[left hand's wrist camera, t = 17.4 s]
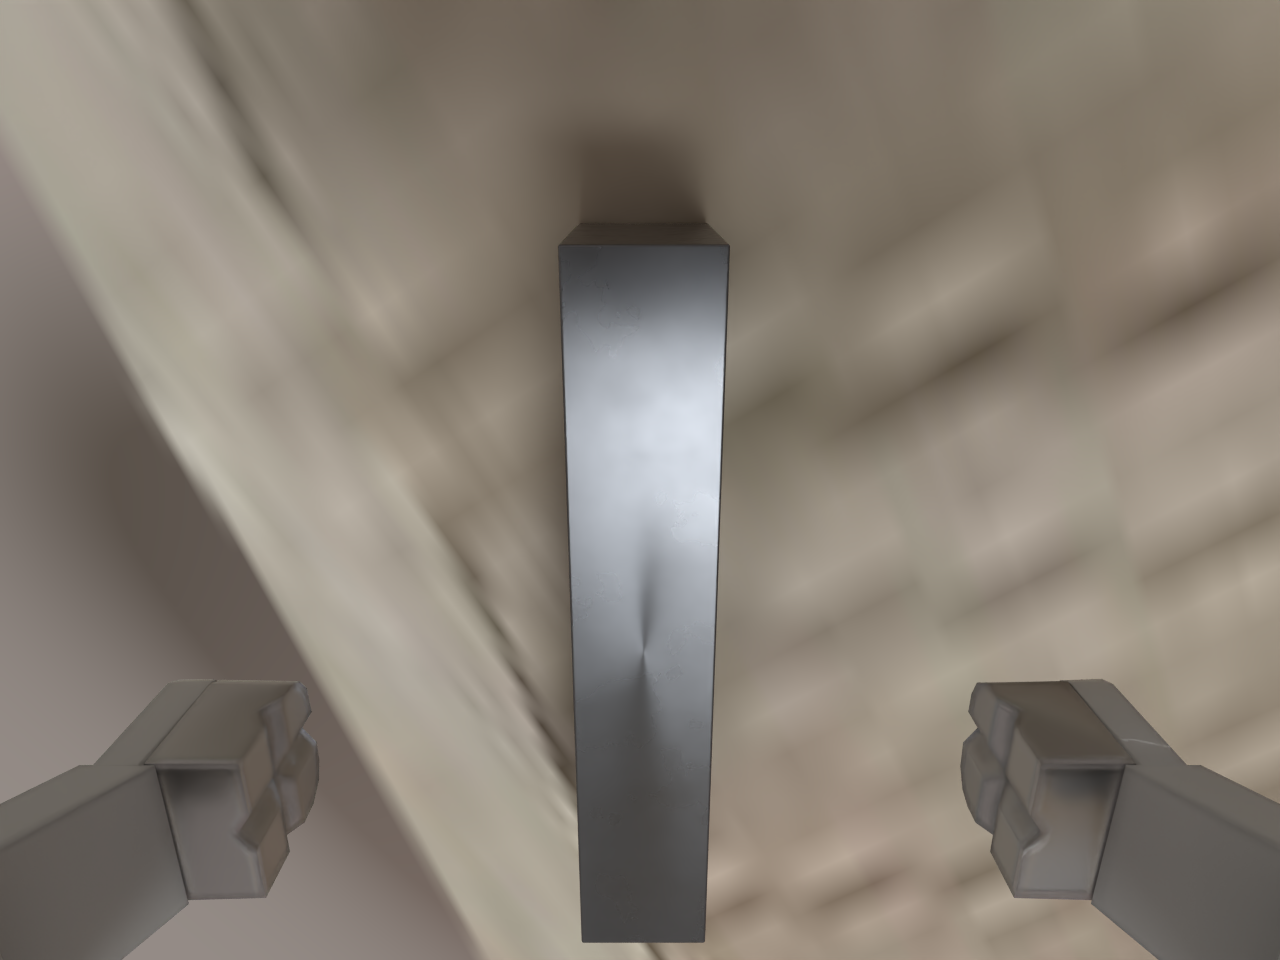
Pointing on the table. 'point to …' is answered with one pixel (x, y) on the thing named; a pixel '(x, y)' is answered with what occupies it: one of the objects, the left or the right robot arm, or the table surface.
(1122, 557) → the table surface
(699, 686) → the bar
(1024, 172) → the table surface
